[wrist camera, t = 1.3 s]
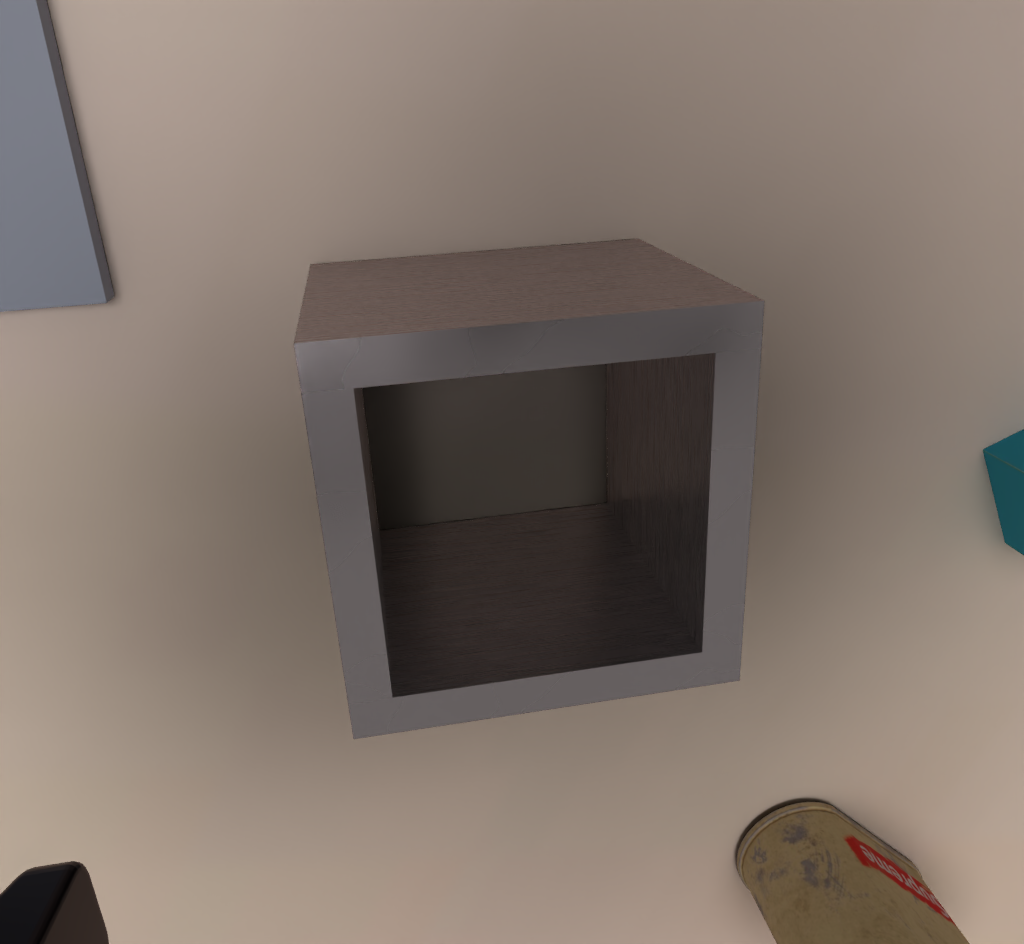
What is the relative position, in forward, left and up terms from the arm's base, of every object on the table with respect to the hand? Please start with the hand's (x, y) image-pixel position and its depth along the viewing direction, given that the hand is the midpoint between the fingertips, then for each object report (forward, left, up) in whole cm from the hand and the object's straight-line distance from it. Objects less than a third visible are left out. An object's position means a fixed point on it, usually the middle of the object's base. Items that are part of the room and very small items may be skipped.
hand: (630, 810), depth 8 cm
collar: (-1, 0, -12) cm, 12 cm away
